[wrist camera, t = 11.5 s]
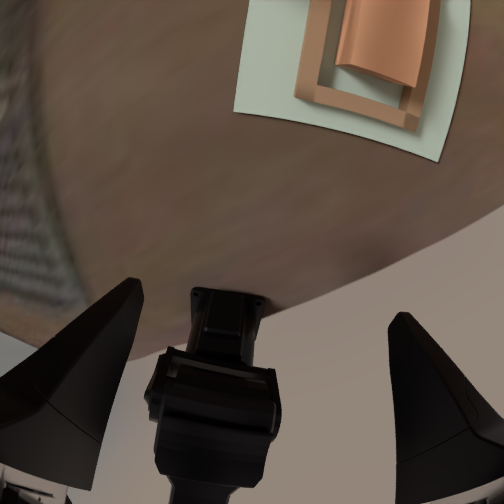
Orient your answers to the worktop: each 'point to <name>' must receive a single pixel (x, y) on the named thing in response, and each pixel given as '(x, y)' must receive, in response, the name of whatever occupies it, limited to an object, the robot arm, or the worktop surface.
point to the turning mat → (349, 75)
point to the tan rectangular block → (383, 38)
